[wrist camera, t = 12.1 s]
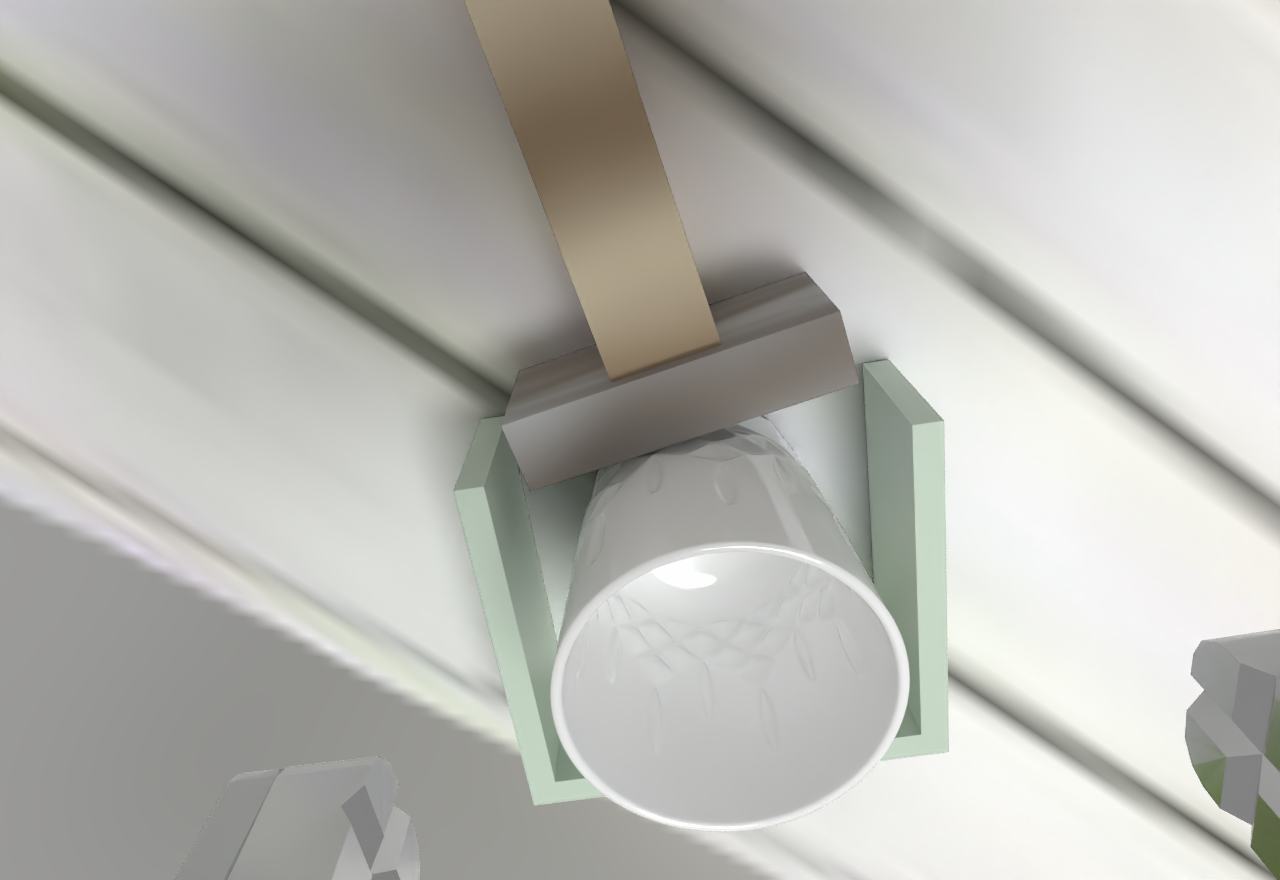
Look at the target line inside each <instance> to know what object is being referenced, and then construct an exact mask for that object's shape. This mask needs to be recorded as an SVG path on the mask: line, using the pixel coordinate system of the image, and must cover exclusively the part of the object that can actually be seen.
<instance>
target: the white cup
mask: <svg viewBox="0 0 1280 880" xmlns="http://www.w3.org/2000/svg"><path fill="white" fill-rule="evenodd" d="M909 687H910V672H909V662H908V656H907V652H906V648H905V645H904V641H903V639H902V636H901V634H900V631H899V629H898V627H897V625H896V623H895V621H894V619H893V618H892V616H891V614H890V612H889V611H888V609H887V607H886V605H885V603H884V602H883V600H882V598H881V596H880V595H879V593H878V591H877V589H876V587H875V586H874V584H873V582H872V580H871V578H870V577H869V575H868V573H867V571H866V569H865V567H864V566H863V564H862V562H861V560H860V558H859V557H858V555H857V553H856V551H855V549H854V547H853V546H852V544H851V542H850V540H849V538H848V537H847V535H846V533H845V531H844V529H843V527H842V526H841V524H840V522H839V521H838V519H837V518H836V516H835V515H834V513H833V512H832V510H831V508H830V506H829V505H828V503H827V502H826V500H825V498H824V496H823V495H822V493H821V492H820V490H819V488H818V487H817V485H816V483H815V482H814V480H813V478H812V477H811V475H810V474H809V473H808V471H807V470H806V469H805V468H804V467H803V466H802V464H801V462H800V460H799V458H798V457H797V455H796V454H795V453H794V451H793V450H792V449H791V447H790V446H789V445H788V444H787V442H786V441H785V440H784V438H783V437H782V436H781V435H780V433H779V432H778V431H777V429H776V428H775V427H774V426H773V424H772V423H771V422H770V421H769V420H767V419H765V418H763V417H761V416H759V417H756V418H753V419H750V420H747V421H744V422H741V423H738V424H735V425H732V426H729V427H725V428H722V429H719V430H716V431H713V432H710V433H707V434H704V435H701V436H698V437H695V438H692V439H689V440H686V441H683V442H680V443H677V444H674V445H671V446H668V447H665V448H662V449H659V450H655V451H652V452H649V453H646V454H643V455H640V456H637V457H634V458H631V459H628V460H625V461H622V462H619V463H616V464H613V465H610V466H607V467H604V468H601V469H598V474H597V478H596V482H595V486H594V490H593V494H592V498H591V501H590V503H589V504H588V506H587V508H586V511H585V515H584V519H583V524H582V528H581V532H580V535H579V537H578V543H577V548H576V553H575V558H574V564H573V569H572V574H571V579H570V584H569V589H568V594H567V600H566V605H565V610H564V615H563V620H562V626H561V630H560V635H559V640H558V645H557V650H556V655H555V660H554V665H553V670H552V676H551V685H550V701H551V710H552V716H553V721H554V725H555V728H556V731H557V734H558V737H559V739H560V741H561V744H562V746H563V748H564V750H565V752H566V753H567V755H568V757H569V758H570V760H571V761H572V763H573V764H574V766H575V767H576V768H577V769H578V771H579V772H580V773H581V774H582V775H583V776H584V778H585V779H586V780H587V781H588V782H589V783H590V784H591V785H593V786H594V787H595V788H596V789H597V790H598V791H599V792H601V793H602V794H603V795H605V796H606V797H607V798H609V799H610V800H612V801H613V802H615V803H616V804H618V805H620V806H621V807H623V808H625V809H627V810H629V811H631V812H633V813H635V814H637V815H639V816H642V817H644V818H647V819H649V820H652V821H655V822H658V823H661V824H665V825H669V826H673V827H677V828H683V829H689V830H696V831H707V832H735V831H746V830H754V829H760V828H765V827H770V826H774V825H778V824H782V823H785V822H789V821H792V820H795V819H797V818H800V817H803V816H805V815H807V814H810V813H812V812H814V811H816V810H818V809H820V808H822V807H824V806H826V805H828V804H830V803H831V802H833V801H835V800H836V799H838V798H839V797H841V796H842V795H844V794H845V793H847V792H848V791H849V790H851V789H852V788H853V787H854V786H856V785H857V784H858V783H859V782H860V781H861V780H862V779H863V778H865V777H866V776H867V775H868V774H869V773H870V772H871V770H872V769H873V768H874V767H875V766H876V765H877V764H878V762H879V761H880V760H881V759H882V757H883V756H884V755H885V753H886V752H887V750H888V749H889V747H890V745H891V744H892V742H893V740H894V738H895V737H896V735H897V732H898V730H899V728H900V726H901V723H902V720H903V718H904V714H905V711H906V707H907V702H908V697H909Z"/></svg>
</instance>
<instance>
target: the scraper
mask: <svg viewBox="0 0 1280 880" xmlns="http://www.w3.org/2000/svg"><path fill="white" fill-rule="evenodd" d="M464 3H465V5H466V8H467V10H468V13H469V16H470V18H471V21H472V23H473V26H474V28H475V31H476V34H477V36H478V39H479V41H480V44H481V47H482V49H483V52H484V54H485V57H486V60H487V62H488V65H489V67H490V70H491V73H492V75H493V78H494V80H495V83H496V86H497V88H498V91H499V93H500V96H501V98H502V101H503V104H504V106H505V109H506V111H507V114H508V117H509V119H510V122H511V124H512V127H513V130H514V132H515V135H516V137H517V140H518V143H519V145H520V148H521V150H522V153H523V156H524V158H525V161H526V163H527V166H528V169H529V171H530V174H531V176H532V179H533V181H534V184H535V187H536V189H537V192H538V194H539V197H540V200H541V202H542V205H543V207H544V210H545V213H546V215H547V218H548V220H549V223H550V226H551V228H552V231H553V233H554V236H555V239H556V241H557V244H558V246H559V249H560V251H561V254H562V257H563V259H564V262H565V264H566V267H567V270H568V272H569V275H570V277H571V280H572V283H573V285H574V288H575V290H576V293H577V296H578V298H579V301H580V303H581V306H582V309H583V311H584V314H585V316H586V319H587V321H588V324H589V327H590V329H591V332H592V334H593V337H594V340H595V342H596V345H593V346H590V347H587V348H584V349H581V350H578V351H575V352H573V353H570V354H567V355H564V356H561V357H558V358H555V359H552V360H549V361H547V362H544V363H541V364H538V365H535V366H532V367H529V368H526V369H523V370H521V371H519V373H518V376H517V379H516V382H515V385H514V388H513V391H512V394H511V398H510V401H509V404H508V407H507V410H506V413H505V416H504V419H503V422H502V425H501V427H502V429H503V431H504V433H505V436H506V438H507V440H508V442H509V445H510V447H511V449H512V451H513V454H514V456H515V458H516V460H517V463H518V465H519V467H520V469H521V472H522V474H523V476H524V478H525V480H526V483H527V485H528V487H529V489H530V492H531V491H534V490H537V489H540V488H543V487H546V486H549V485H552V484H555V483H558V482H561V481H564V480H567V479H570V478H573V477H576V476H579V475H582V474H586V473H589V472H592V471H595V470H598V469H601V468H604V467H607V466H610V465H613V464H616V463H619V462H622V461H625V460H628V459H631V458H634V457H637V456H640V455H643V454H646V453H649V452H652V451H655V450H659V449H662V448H665V447H668V446H671V445H674V444H677V443H680V442H683V441H686V440H689V439H692V438H695V437H698V436H701V435H704V434H707V433H710V432H713V431H716V430H719V429H722V428H725V427H729V426H732V425H735V424H738V423H741V422H744V421H747V420H750V419H753V418H756V417H759V416H762V415H765V414H768V413H771V412H774V411H777V410H780V409H783V408H786V407H789V406H792V405H795V404H798V403H802V402H805V401H808V400H811V399H814V398H817V397H820V396H823V395H826V394H829V393H832V392H835V391H838V390H841V389H844V388H847V387H850V386H853V385H856V384H859V380H858V376H857V372H856V369H855V365H854V361H853V357H852V354H851V350H850V346H849V342H848V339H847V335H846V331H845V328H844V324H843V320H842V316H841V313H840V310H839V309H838V308H837V307H836V306H835V305H834V304H833V302H832V301H831V300H830V299H829V298H828V297H827V296H826V294H825V293H824V292H823V291H822V290H821V289H820V288H819V287H818V285H817V284H816V283H815V282H814V281H813V280H812V279H811V277H810V276H809V275H808V274H807V273H806V272H804V273H801V274H798V275H795V276H792V277H789V278H786V279H784V280H781V281H778V282H775V283H772V284H769V285H766V286H763V287H760V288H758V289H755V290H752V291H749V292H746V293H743V294H740V295H737V296H734V297H732V298H729V299H726V300H723V301H720V302H717V303H714V304H711V305H708V302H707V299H706V296H705V292H704V289H703V286H702V283H701V280H700V277H699V274H698V271H697V268H696V265H695V262H694V259H693V256H692V253H691V250H690V247H689V244H688V241H687V238H686V234H685V231H684V228H683V225H682V222H681V219H680V216H679V213H678V210H677V207H676V204H675V201H674V198H673V195H672V192H671V189H670V186H669V183H668V180H667V176H666V173H665V170H664V167H663V164H662V161H661V158H660V155H659V152H658V149H657V146H656V143H655V140H654V137H653V134H652V131H651V128H650V125H649V122H648V118H647V115H646V112H645V109H644V106H643V103H642V100H641V97H640V94H639V91H638V88H637V85H636V82H635V79H634V76H633V73H632V70H631V67H630V63H629V60H628V57H627V54H626V51H625V48H624V45H623V42H622V39H621V36H620V33H619V30H618V27H617V24H616V21H615V18H614V15H613V12H612V9H611V5H610V2H609V0H464Z"/></svg>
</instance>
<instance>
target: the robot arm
mask: <svg viewBox="0 0 1280 880" xmlns="http://www.w3.org/2000/svg"><path fill="white" fill-rule="evenodd" d="M1191 675H1192V676H1193V677H1194V679H1195V680H1196V681H1197V682H1198V683H1199V684H1200V685H1201V687H1202V688H1203V689H1204V691H1203V692H1202V693H1201V695H1200V696H1199V697H1198V698H1197V699H1196V700H1195V701H1194V703H1193V704H1192V705H1191V706H1190V707H1189V708H1188V709H1187V713H1186V728H1185V740H1186V744H1187V747H1188V751H1189V755H1190V759H1191V763H1192V766H1193V768H1194V770H1195V772H1196V774H1197V775H1198V777H1199V779H1200V781H1201V783H1202V785H1203V787H1204V788H1205V790H1206V791H1207V792H1208V793H1209V795H1210V796H1211V797H1212V799H1213V800H1214V801H1215V803H1216V804H1217V805H1218V806H1219V808H1220V809H1222V810H1224V811H1226V812H1228V813H1230V814H1232V815H1234V816H1236V817H1237V818H1239V819H1241V820H1243V821H1245V822H1247V823H1249V824H1251V825H1252V830H1251V846H1250V847H1251V848H1252V849H1253V850H1254V852H1255V853H1256V854H1257V855H1258V857H1259V858H1260V859H1261V860H1262V862H1263V863H1264V864H1265V865H1266V867H1267V868H1268V869H1269V870H1270V872H1271V873H1272V874H1273V875H1274V876H1275V878H1276V879H1277V880H1280V629H1277V630H1271V631H1264V632H1257V633H1250V634H1244V635H1237V636H1230V637H1223V638H1216V639H1210V640H1203V641H1201V642H1200V644H1199V646H1198V647H1197V649H1196V650H1195V652H1194V654H1193V661H1192V669H1191ZM398 786H399V784H398V781H397V779H396V776H395V774H394V771H393V769H392V766H391V764H390V761H389V760H387V759H385V758H383V757H380V756H378V757H370V758H362V759H352V760H344V761H335V762H326V763H318V764H309V765H301V766H292V767H287V768H286V769H275V770H267V771H257V772H249V773H240V774H239V775H237V776H236V777H235V778H233V779H232V780H231V781H229V782H228V783H227V784H226V786H225V788H224V789H223V791H222V793H221V795H220V797H219V799H218V801H217V802H216V804H215V806H214V808H213V810H212V812H211V814H210V815H209V817H208V819H207V821H206V823H205V825H204V827H203V828H202V830H201V832H200V834H199V836H198V838H197V840H196V841H195V843H194V845H193V847H192V849H191V851H190V853H189V854H188V856H187V858H186V860H185V862H184V864H183V865H182V867H181V869H180V871H179V873H178V875H177V877H176V878H175V880H419V875H420V854H419V848H418V842H417V835H416V832H415V829H414V826H413V823H412V821H411V818H410V817H409V816H408V815H406V814H405V813H404V812H402V811H401V810H399V809H398V808H397V807H395V806H394V805H393V804H394V800H395V796H396V793H397V790H398Z"/></svg>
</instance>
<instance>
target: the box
mask: <svg viewBox="0 0 1280 880" xmlns="http://www.w3.org/2000/svg"><path fill="white" fill-rule="evenodd" d="M863 382H864V401H865V420H866V440H867V459H868V478H869V498H870V517H871V537H872V556H873V575H874V586H875V587H876V589H877V591H878V593H879V595H880V596H881V598H882V600H883V602H884V603H885V605H886V607H887V609H888V611H889V612H890V614H891V616H892V618H893V619H894V621H895V623H896V625H897V627H898V629H899V631H900V634H901V636H902V639H903V641H904V645H905V648H906V652H907V656H908V662H909V672H910V687H909V697H908V702H907V707H906V711H905V714H904V718H903V720H902V723H901V726H900V728H899V730H898V732H897V735H896V737H895V738H894V740H893V742H892V744H891V745H890V747H889V749H888V750H887V752H886V753H885V755H884V756H883V757H882V759H881V760H880V761H883V760H891V759H898V758H906V757H914V756H922V755H929V754H937V753H945V752H949V734H948V663H947V592H946V521H945V450H944V420H943V419H942V418H941V417H940V416H939V415H938V413H937V412H936V411H935V410H934V409H933V408H932V407H931V406H930V405H929V403H928V402H927V401H926V400H925V399H924V398H923V397H922V396H921V395H920V394H919V392H918V391H917V390H916V389H915V388H914V387H913V386H912V385H911V384H910V382H909V381H908V380H907V379H906V378H905V377H904V376H903V375H902V374H901V372H900V371H899V370H898V369H897V368H896V367H895V366H894V365H893V364H892V362H891V361H890V360H883V361H876V362H869V363H863ZM503 419H504V416H499V417H492V418H486V419H481V421H480V424H479V426H478V429H477V431H476V434H475V436H474V439H473V442H472V444H471V447H470V449H469V452H468V454H467V457H466V460H465V462H464V465H463V467H462V470H461V473H460V475H459V478H458V480H457V483H456V485H455V488H454V495H455V499H456V503H457V507H458V511H459V515H460V519H461V523H462V527H463V530H464V534H465V538H466V542H467V546H468V550H469V554H470V558H471V562H472V565H473V569H474V573H475V577H476V581H477V585H478V589H479V593H480V597H481V601H482V604H483V608H484V612H485V616H486V620H487V624H488V628H489V632H490V636H491V639H492V643H493V647H494V651H495V655H496V659H497V663H498V667H499V671H500V674H501V678H502V682H503V686H504V690H505V694H506V698H507V702H508V706H509V710H510V713H511V717H512V721H513V725H514V729H515V733H516V737H517V741H518V745H519V748H520V752H521V756H522V760H523V764H524V767H525V772H526V775H527V779H528V783H529V787H530V791H531V795H532V799H533V803H534V805H541V804H549V803H556V802H564V801H572V800H580V799H588V798H596V797H603V796H605V795H603V794H602V793H601V792H599V791H598V790H597V789H596V788H595V787H594V786H593V785H591V784H590V783H589V782H588V781H587V780H586V779H585V778H584V776H583V775H582V774H581V773H580V772H579V771H578V769H577V768H576V767H575V766H574V764H573V763H572V761H571V760H570V758H569V757H568V755H567V753H566V752H565V750H564V748H563V746H562V744H561V741H560V739H559V737H558V734H557V731H556V728H555V725H554V721H553V716H552V710H551V701H550V685H551V676H552V670H553V665H554V660H555V655H556V650H557V645H558V644H557V640H556V635H555V631H554V626H553V622H552V617H551V613H550V608H549V604H548V599H547V595H546V590H545V586H544V581H543V577H542V572H541V568H540V563H539V559H538V554H537V550H536V545H535V541H534V536H533V532H532V527H531V523H530V518H529V514H528V509H527V505H526V500H525V496H524V491H523V487H522V482H521V478H520V473H519V469H518V464H517V460H516V458H515V456H514V454H513V451H512V449H511V447H510V445H509V442H508V440H507V438H506V436H505V433H504V431H503V429H502V427H501V425H502V422H503Z"/></svg>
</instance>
